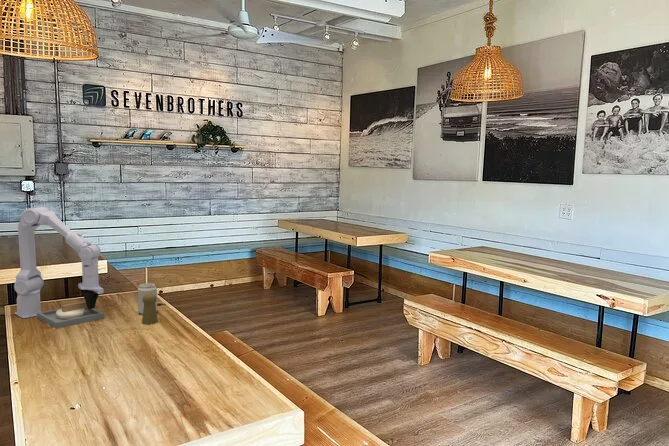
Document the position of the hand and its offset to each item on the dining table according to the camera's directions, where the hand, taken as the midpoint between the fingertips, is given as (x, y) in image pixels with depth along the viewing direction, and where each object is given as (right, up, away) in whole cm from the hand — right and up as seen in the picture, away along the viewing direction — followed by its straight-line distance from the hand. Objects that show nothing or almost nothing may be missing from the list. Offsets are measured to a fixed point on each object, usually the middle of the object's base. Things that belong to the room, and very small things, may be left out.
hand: (91, 308), depth 200 cm
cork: (+25, -5, -3) cm, 25 cm away
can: (+19, -4, +9) cm, 22 cm away
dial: (-7, -2, 0) cm, 7 cm away
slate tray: (-8, -4, -1) cm, 9 cm away
